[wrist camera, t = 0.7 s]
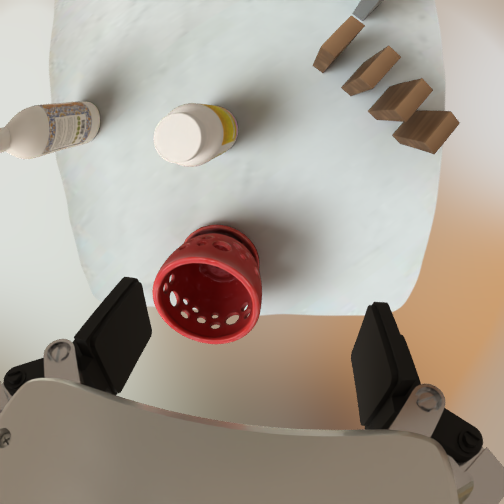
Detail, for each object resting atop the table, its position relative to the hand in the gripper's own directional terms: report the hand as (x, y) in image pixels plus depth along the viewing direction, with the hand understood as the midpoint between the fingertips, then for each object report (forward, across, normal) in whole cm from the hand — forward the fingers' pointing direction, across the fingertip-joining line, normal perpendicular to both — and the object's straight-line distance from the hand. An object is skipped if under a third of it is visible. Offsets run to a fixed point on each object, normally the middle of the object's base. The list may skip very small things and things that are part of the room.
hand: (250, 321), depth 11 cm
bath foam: (+28, +30, -8) cm, 42 cm away
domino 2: (+28, -9, -14) cm, 33 cm away
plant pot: (+28, +7, +13) cm, 32 cm away
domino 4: (+28, -17, -9) cm, 34 cm away
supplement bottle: (+28, +9, -6) cm, 30 cm away
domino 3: (+28, -13, -12) cm, 33 cm away
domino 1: (+28, -6, -17) cm, 33 cm away
